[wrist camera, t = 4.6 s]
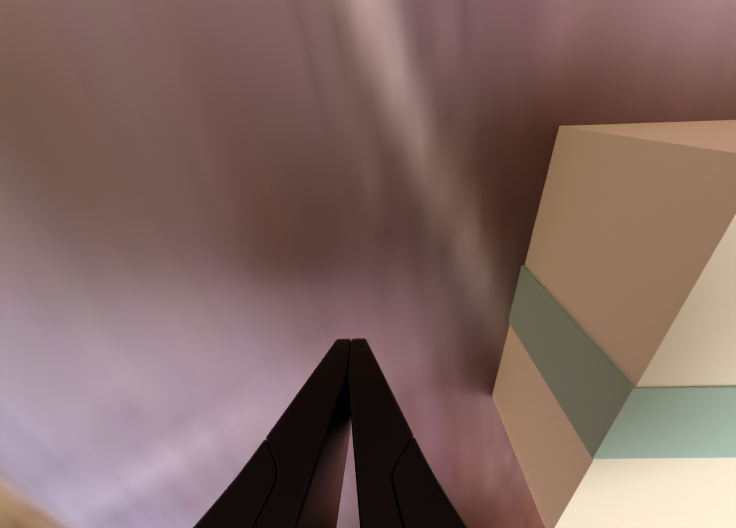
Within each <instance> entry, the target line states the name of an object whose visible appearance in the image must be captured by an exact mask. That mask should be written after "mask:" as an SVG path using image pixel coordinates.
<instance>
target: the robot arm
mask: <svg viewBox="0 0 736 528" xmlns="http://www.w3.org/2000/svg"><path fill="white" fill-rule="evenodd" d="M351 423H352V435H353V448H354V460H355V472H356V484H357V496H358V509H359V521H360V528H467V526H466V525H465V523H464V522H463V520H462V519H461V517H460V516H459V514H458V512H457V511H456V509H455V508H454V506H453V505H452V503H451V502H450V500H449V498H448V497H447V495H446V494H445V492H444V490H443V489H442V487H441V485H440V484H439V482H438V480H437V479H436V477H435V475H434V474H433V472H432V470H431V468H430V466H429V464H428V462H427V461H426V459H425V457H424V455H423V453H422V451H421V449H420V447H419V445H418V443H417V441H416V439H415V438H413V433H412V431H411V429H410V427H409V425H408V423H407V421H406V419H405V417H404V415H403V413H402V411H401V409H400V407H399V405H398V403H397V401H396V399H395V397H394V395H393V393H392V391H391V389H390V387H389V385H388V383H387V381H386V378H385V376H384V374H383V372H382V370H381V368H380V366H379V364H378V362H377V360H376V358H375V356H374V354H373V352H372V350H371V348H370V346H369V344H368V342H367V340H366V339H364V338H359V339H352V341H351V340H350V339H337V340H336V341H335V342H334V344H333V345H332V347H331V348H330V349H329V351H328V352H327V354H326V355H325V356H324V358H323V359H322V360H321V362H320V363H319V365H318V366H317V367H316V369H315V370H314V372H313V373H312V374H311V376H310V377H309V378H308V380H307V381H306V383H305V384H304V385H303V387H302V388H301V390H300V391H299V392H298V394H297V395H296V396H295V398H294V399H293V401H292V402H291V403H290V405H289V406H288V408H287V409H286V410H285V412H284V413H283V414H282V416H281V417H280V419H279V420H278V421H277V423H276V424H275V426H274V427H273V428H272V430H271V431H270V432H269V434H268V435H267V437H266V440H264V441H263V442H262V443H261V445H260V446H259V448H258V449H257V450H256V452H255V453H254V454H253V456H252V457H251V458H250V460H249V461H248V462H247V464H246V465H245V466H244V468H243V469H242V470H241V472H240V473H239V474H238V476H237V477H236V478H235V479H234V480H233V482H232V483H231V484H230V485H229V486H228V488H227V489H226V490H225V491H224V492H223V494H222V495H221V496H220V497H219V498H218V500H217V501H216V502H215V503H214V504H213V505H212V506H211V508H210V509H209V510H208V511H207V512H206V513H205V515H204V516H203V517H202V518H201V519H200V520H199V521H198V523H197V524H196V525H195V526H194V527H193V528H336V526H337V519H338V512H339V505H340V498H341V491H342V484H343V477H344V470H345V463H346V456H347V450H348V443H349V436H350V429H351Z"/></svg>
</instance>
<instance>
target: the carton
mask: <svg viewBox="0 0 736 528" xmlns="http://www.w3.org/2000/svg"><path fill="white" fill-rule="evenodd" d="M508 322H509V323H510V326H509V330H508V334H507V338H506V342H505V346H504V350H503V354H502V358H501V362H500V366H499V370H498V374H497V378H496V382H495V386H494V390H493V394H492V398H493V401H494V403H495V406H496V408H497V411H498V413H499V415H500V418H501V420H502V423H503V425H504V428H505V430H506V433H507V435H508V438H509V440H510V443H511V445H512V448H513V450H514V453H515V455H516V458H517V460H518V462H519V465H520V467H521V470H522V472H523V475H524V477H525V480H526V482H527V485H528V487H529V490H530V492H531V495H532V497H533V500H534V502H535V505H536V507H537V509H538V512H539V514H540V517H541V519H542V522H543V524H544V527H545V528H736V120H716V121H687V122H658V123H630V124H601V125H572V126H559V129H558V133H557V137H556V141H555V145H554V149H553V153H552V157H551V161H550V165H549V169H548V173H547V177H546V181H545V185H544V189H543V193H542V197H541V201H540V205H539V209H538V213H537V217H536V221H535V225H534V229H533V233H532V237H531V241H530V245H529V249H528V253H527V257H526V261H525V265H522V266H521V270H520V274H519V278H518V282H517V286H516V290H515V294H514V298H513V302H512V307H511V311H510V315H509V319H508Z"/></svg>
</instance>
